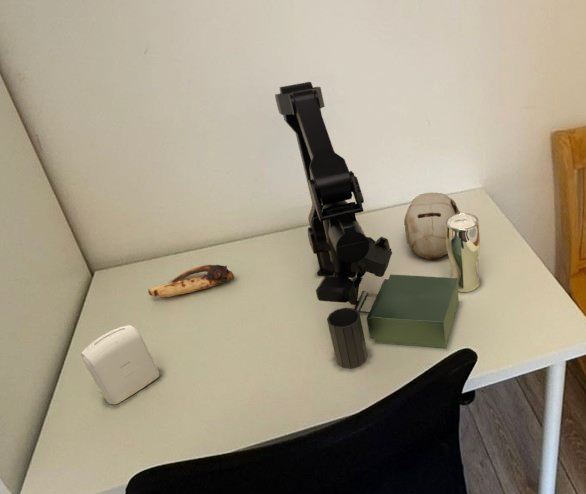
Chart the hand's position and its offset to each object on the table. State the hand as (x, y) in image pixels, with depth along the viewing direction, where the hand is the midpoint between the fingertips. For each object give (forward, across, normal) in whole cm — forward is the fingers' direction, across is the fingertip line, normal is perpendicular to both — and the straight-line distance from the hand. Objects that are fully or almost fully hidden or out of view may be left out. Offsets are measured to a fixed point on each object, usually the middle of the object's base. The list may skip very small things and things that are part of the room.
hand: (354, 303), depth 125 cm
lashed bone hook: (+4, +7, +40) cm, 41 cm away
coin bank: (+4, +30, -10) cm, 32 cm away
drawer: (+3, 0, -9) cm, 9 cm away
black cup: (+4, -12, -3) cm, 13 cm away
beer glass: (+4, +14, -20) cm, 24 cm away
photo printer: (+4, -25, +35) cm, 43 cm away
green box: (+3, 0, -13) cm, 13 cm away
